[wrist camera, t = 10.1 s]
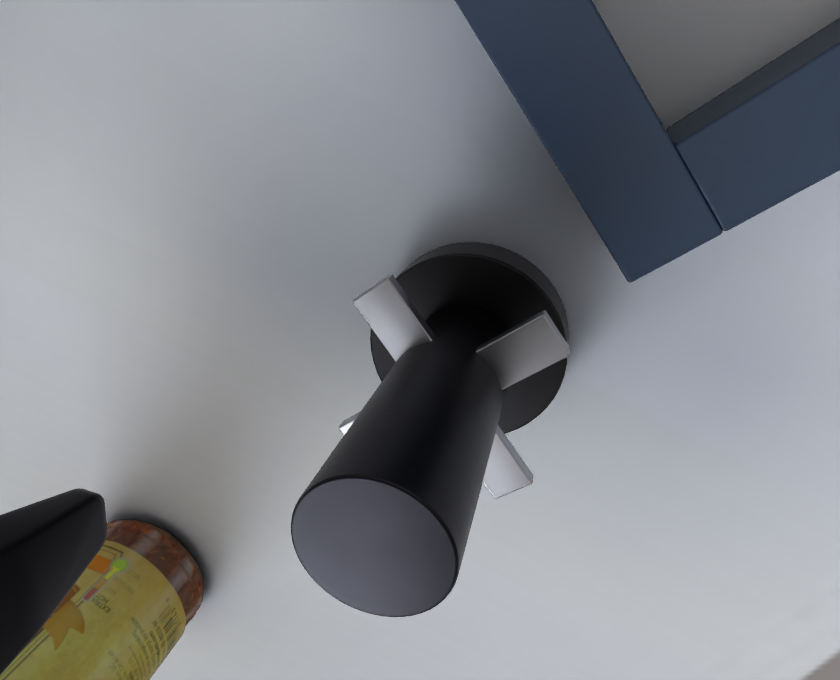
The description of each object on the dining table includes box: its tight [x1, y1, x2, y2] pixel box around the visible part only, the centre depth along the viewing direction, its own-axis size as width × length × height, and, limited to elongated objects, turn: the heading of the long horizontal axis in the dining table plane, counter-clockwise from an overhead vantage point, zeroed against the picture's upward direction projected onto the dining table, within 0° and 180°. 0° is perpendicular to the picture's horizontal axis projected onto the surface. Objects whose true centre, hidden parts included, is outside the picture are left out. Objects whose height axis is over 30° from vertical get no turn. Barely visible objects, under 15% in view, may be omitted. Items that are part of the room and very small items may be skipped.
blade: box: [291, 242, 570, 617], centre depth 14 cm, size 7×7×10 cm
